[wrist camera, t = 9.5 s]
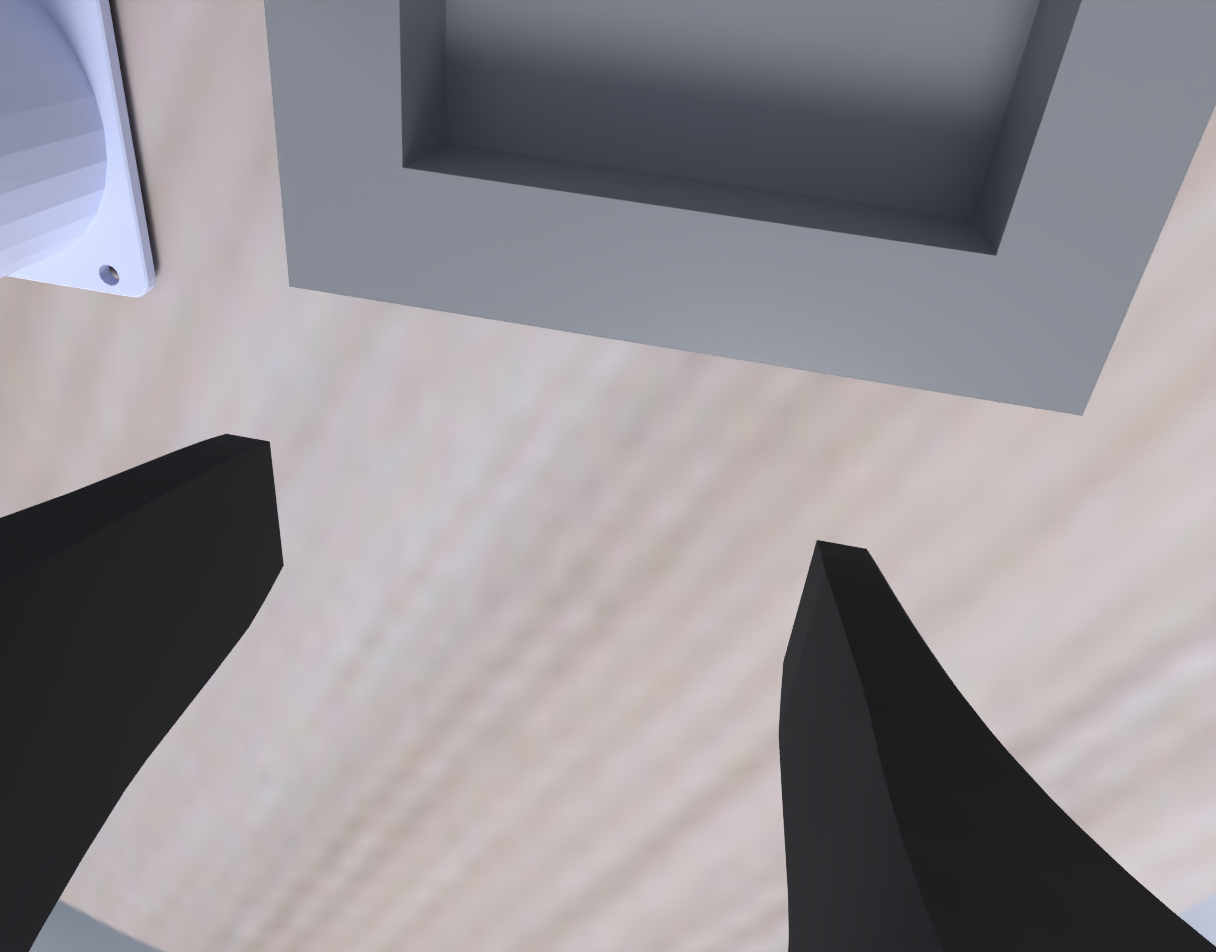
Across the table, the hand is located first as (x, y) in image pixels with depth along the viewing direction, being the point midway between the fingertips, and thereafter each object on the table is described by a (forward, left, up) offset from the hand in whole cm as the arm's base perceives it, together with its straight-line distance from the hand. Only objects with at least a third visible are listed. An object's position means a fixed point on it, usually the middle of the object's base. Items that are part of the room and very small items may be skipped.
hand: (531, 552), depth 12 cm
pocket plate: (+1, +6, -10) cm, 12 cm away
